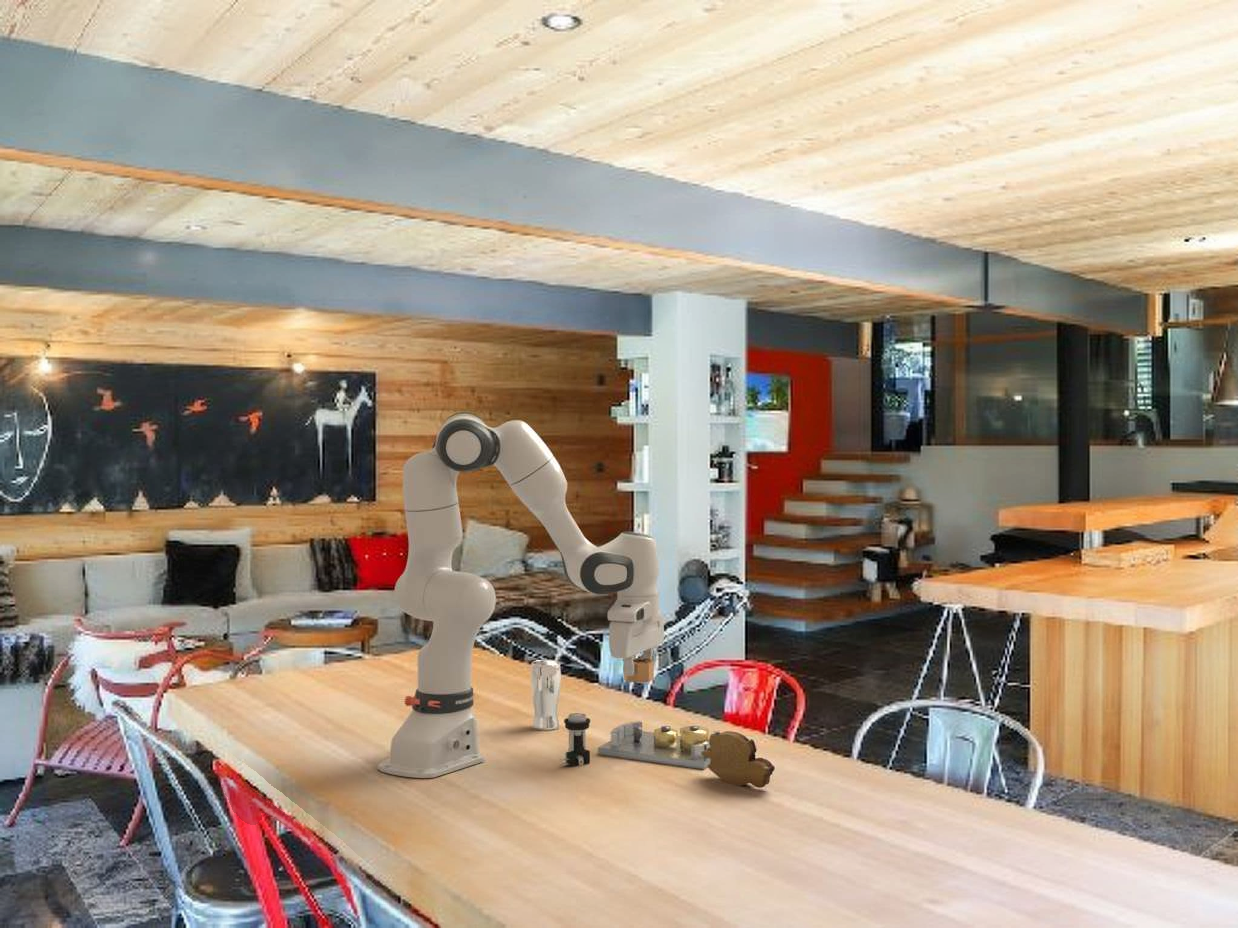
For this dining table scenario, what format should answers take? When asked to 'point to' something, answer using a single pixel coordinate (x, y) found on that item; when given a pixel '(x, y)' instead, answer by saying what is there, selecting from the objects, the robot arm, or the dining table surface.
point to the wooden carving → (737, 760)
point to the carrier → (659, 745)
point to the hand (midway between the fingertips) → (638, 671)
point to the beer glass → (545, 693)
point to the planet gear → (641, 671)
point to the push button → (576, 740)
